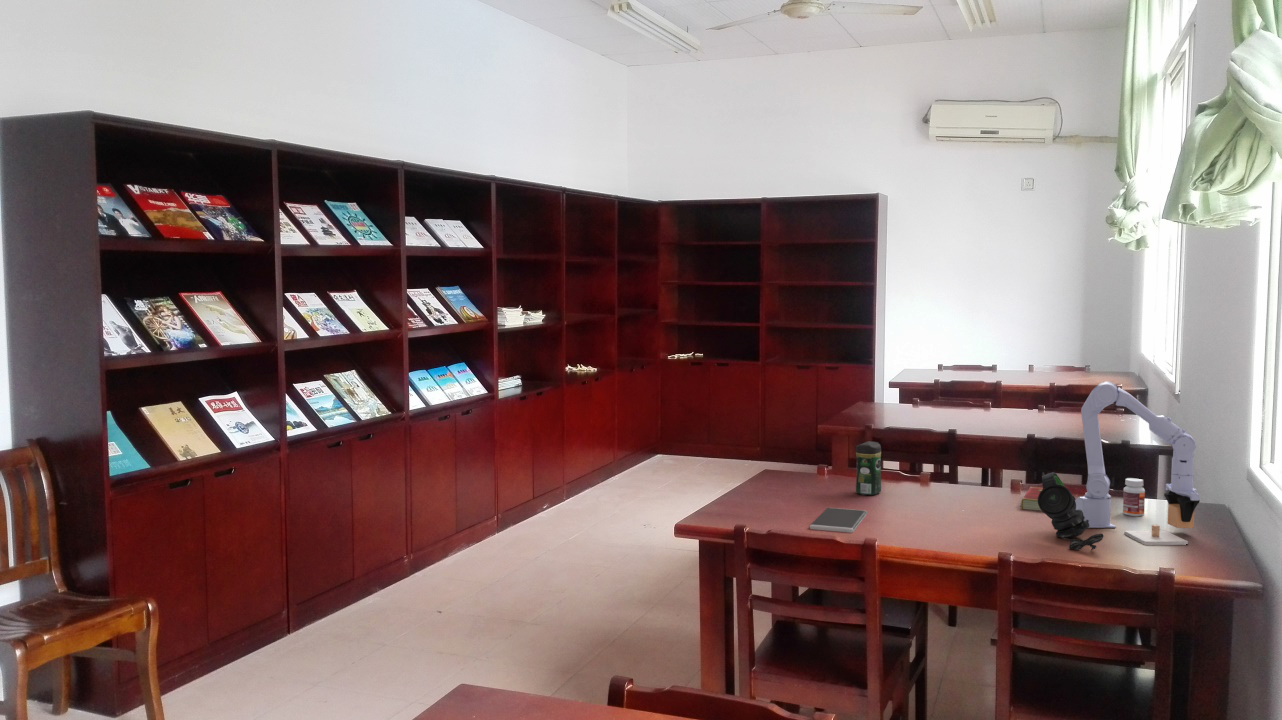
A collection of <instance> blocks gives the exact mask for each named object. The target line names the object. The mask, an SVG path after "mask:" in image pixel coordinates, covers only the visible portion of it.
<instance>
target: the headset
mask: <svg viewBox="0 0 1282 720" xmlns="http://www.w3.org/2000/svg"><path fill="white" fill-rule="evenodd" d="M1041 484H1042V488H1043V490H1042V491H1041V492H1040V494H1039V496H1038V505H1039V507H1040V509H1041V510H1042V511H1041V510H1040V511H1041V512H1042V513H1044V514H1045V515H1046V516H1047V517H1048V518H1049V519H1051V524H1052V527H1053V529H1054V530H1055V535H1056V537H1057V538H1061V539H1063V540H1065V541H1069V543H1070V544H1069V546H1068V549H1070V550H1071V549H1072V550H1073V551H1079V550H1082V549H1083V548H1084V547H1086V546H1087V547H1090V551H1092V550H1095V549H1096V548H1097V545H1096V544H1098V543H1099V542H1101V541H1102V540H1103V538H1104V534H1103V533H1095V534H1093V535H1091V536H1088V538H1086V539H1081V538H1080V539H1079V538H1077V537H1079V536H1080V535H1082V534H1083V533H1084V532H1085V530H1087V529H1089V528H1088V527H1089V526H1090V525H1089V523H1088V521H1084V519H1085V517H1084V515H1083V512H1082V510H1076V499H1077V498H1076V497H1075V496H1074V495H1073V494H1072V493H1071V491H1070V489H1068V488H1067V487H1066V486H1065V484H1064V482H1063V481H1062V480H1061V478H1060V477H1059V476H1058V474H1057V473H1056V472H1055V471H1052V472H1049V473H1047V474H1043V475H1042V476H1041Z"/></svg>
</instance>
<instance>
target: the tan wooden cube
mask: <svg viewBox="0 0 1282 720" xmlns="http://www.w3.org/2000/svg"><path fill="white" fill-rule="evenodd" d="M1167 504H1168V503H1167ZM1167 525H1170V526H1172V527H1174V528H1176V529H1193V528H1195V511H1194V512H1193V514H1192V518H1191V520H1190V522H1182V520H1181V510H1180V505H1179V504H1168V505H1167Z"/></svg>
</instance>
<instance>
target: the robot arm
mask: <svg viewBox="0 0 1282 720" xmlns="http://www.w3.org/2000/svg"><path fill="white" fill-rule="evenodd" d="M1114 403H1115V406H1118V407H1125V408H1127V409H1128V410H1130V411H1131V412H1133V413H1134V414H1135V415H1137V416H1138V417H1139V418H1141V419H1142V420H1143V421H1145V422H1146V423H1148V429H1149V431H1150V432H1152V433H1153V434H1155V435H1156V436H1157V437H1158V438H1160V439H1161V440H1162V441H1163V442H1164V443H1166V444H1167V445H1171V446H1172V449H1173V451H1172V452H1173V453H1172V454H1173V455H1172V457H1171V473H1170V474H1171V475H1170V477H1171V478H1170V483H1165V491H1167V492H1164V494H1163V495H1164V497H1165V499H1166V502H1167V504H1179V505H1180V510H1181V520H1182V522H1190V520H1191V518H1192V514H1193V512H1194V513H1195V510H1196V508H1197V506H1198V505H1199V503H1200V494H1199V493H1198V492H1197V491H1198V489H1197V488H1194V475H1195V459H1194V457H1195V450H1196V447H1197V446H1196V442H1195V439H1194V438H1193V437H1192V435H1191V434H1190V433H1189V432H1186V429H1185V428H1181V427H1179V426H1178V425H1177V424H1175V423H1174V422H1173V421H1172V418H1171V417H1170V416H1167V417H1166V416H1165V415H1157V414H1155V413H1154V412H1153V411H1151V410H1150V409H1149V408H1148V407H1146V405H1144V403H1143V404H1142V402H1140V401H1139V400H1138V399H1136V397H1134V396H1133V395H1132V394H1130V393H1129V392H1128V391H1126V390H1125V389H1122V388H1121V387H1117V385H1116V384H1115V383H1113V382H1111V381H1103V382H1100V383H1099V384H1098V385H1096V386H1095V387H1094V388H1093V389H1092V390H1091V392H1090V393H1089V395H1088V397H1087V398H1086V400H1085V402H1084V403H1083V405H1082V406H1081V409H1080V412H1081V413H1080V414H1081V422H1082V431H1083V436H1084V447H1085V454H1086V461H1087V463H1086V464H1087V476H1088V478H1087V482H1086V485H1085V488H1086V491H1087V492H1085V494H1084V495H1083V496H1078V497H1077V498H1075V499H1076V500H1075V502H1076V510H1082V512H1083V515H1084V517H1085V519H1084V521H1088V523H1089V525H1090V526H1089V527H1088V528H1087V529H1091V528H1098V529H1101V528H1102V529H1103V528H1105V529H1106V528H1108V529H1109V528H1112V529H1115V528H1117V526H1116V525H1115V524H1112V523H1111V509H1112V507H1111V505H1112V504H1111V502H1112V501H1111V500H1112V495H1110V494H1109V492H1110V486H1111V480H1110V478H1109V477H1108V475H1107V474H1106V468H1105V461H1104V455H1103V453H1104V452H1103V446H1102V436H1101V429H1100V422H1099V414H1100V413H1101V412H1102V411H1103V410H1104V409H1105V408H1106V407H1108V406H1110V405H1112V404H1114ZM1168 491H1169V492H1168Z"/></svg>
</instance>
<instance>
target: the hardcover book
mask: <svg viewBox="0 0 1282 720" xmlns="http://www.w3.org/2000/svg"><path fill="white" fill-rule="evenodd" d="M1042 490H1043V487H1034V486H1030V487H1029V488H1028V490H1027V491H1026V493H1025V495H1024V496H1023V498H1022V499H1021V503H1020V504H1021V505H1020V508H1021V510H1032V511H1041V512H1042V510H1041V509H1040V507H1039V505H1038V496H1039V494H1040V492H1041V491H1042Z"/></svg>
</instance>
